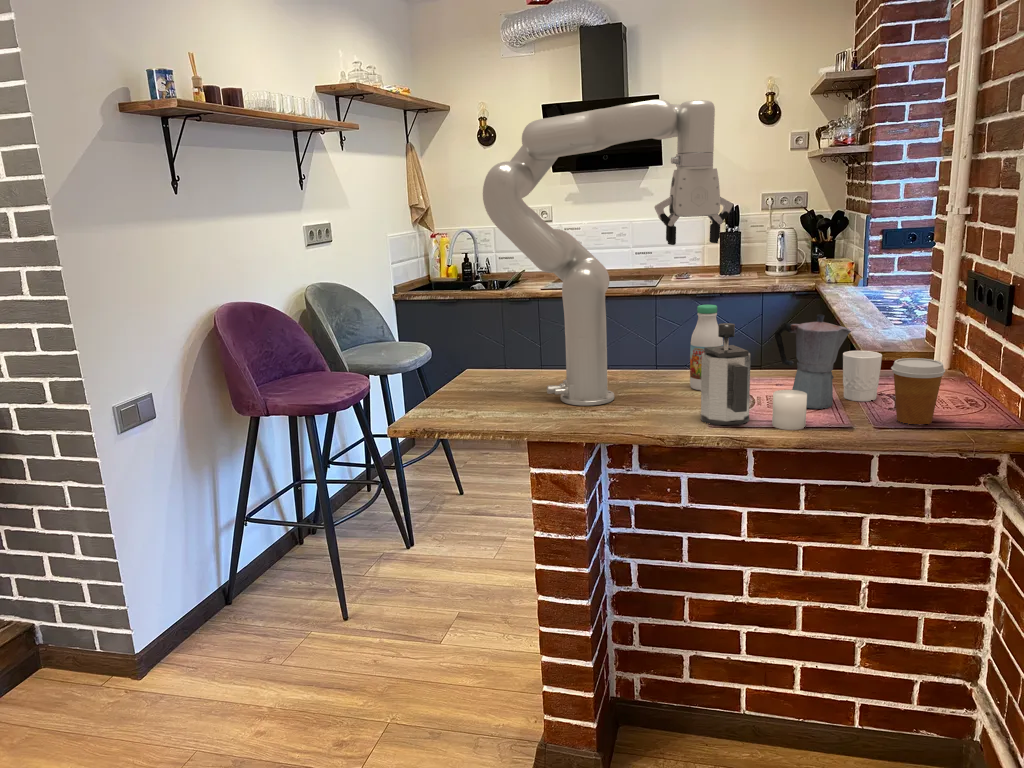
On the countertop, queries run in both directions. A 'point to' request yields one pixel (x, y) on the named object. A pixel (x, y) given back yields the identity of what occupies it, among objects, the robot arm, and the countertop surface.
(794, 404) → the white pillar candle
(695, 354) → the milk bottle
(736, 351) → the press carafe
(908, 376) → the disposable coffee cup
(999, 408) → the countertop surface
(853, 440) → the countertop surface
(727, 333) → the plunger
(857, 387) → the white cup
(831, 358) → the moka pot
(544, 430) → the countertop surface
